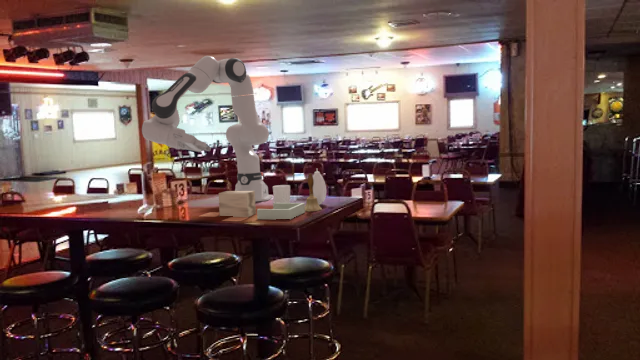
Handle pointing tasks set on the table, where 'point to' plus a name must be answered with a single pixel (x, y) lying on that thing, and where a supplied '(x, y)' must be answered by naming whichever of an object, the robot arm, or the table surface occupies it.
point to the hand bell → (311, 197)
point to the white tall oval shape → (319, 187)
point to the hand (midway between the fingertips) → (208, 147)
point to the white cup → (281, 193)
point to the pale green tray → (282, 211)
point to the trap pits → (214, 214)
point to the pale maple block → (237, 203)
